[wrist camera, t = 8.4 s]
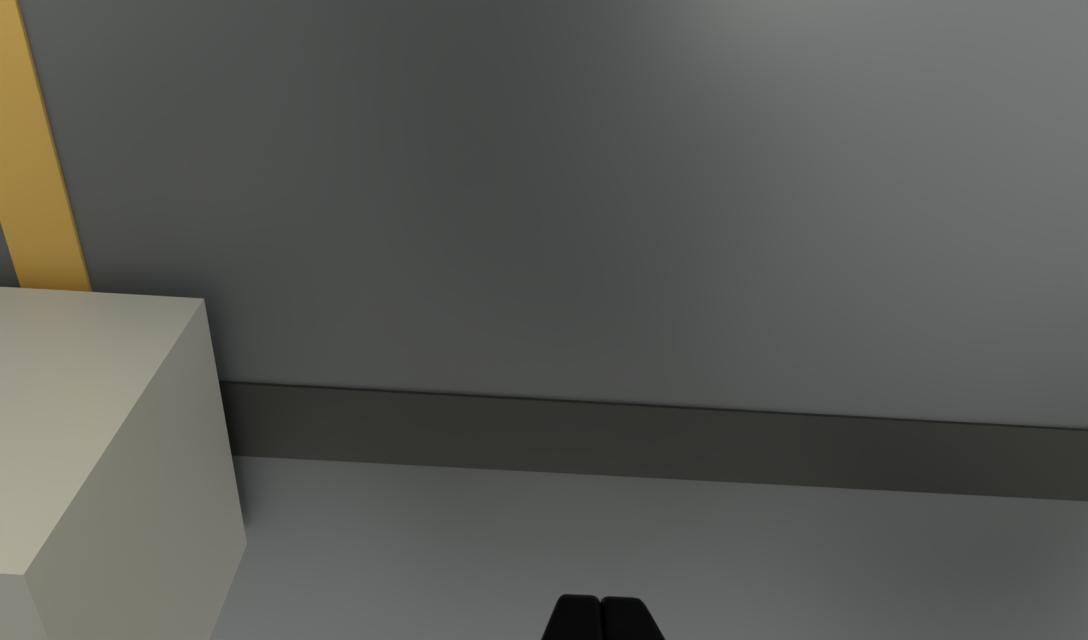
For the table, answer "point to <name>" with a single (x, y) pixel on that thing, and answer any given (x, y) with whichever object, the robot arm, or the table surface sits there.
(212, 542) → the fader tab
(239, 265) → the console
